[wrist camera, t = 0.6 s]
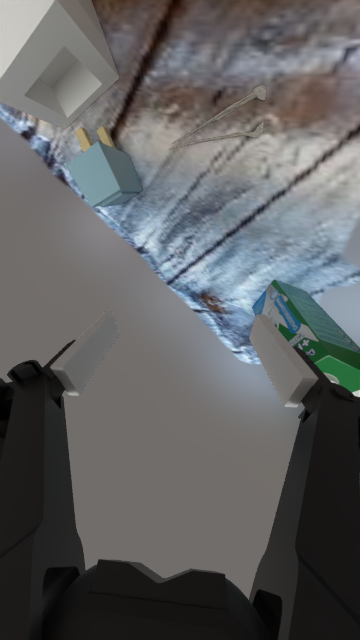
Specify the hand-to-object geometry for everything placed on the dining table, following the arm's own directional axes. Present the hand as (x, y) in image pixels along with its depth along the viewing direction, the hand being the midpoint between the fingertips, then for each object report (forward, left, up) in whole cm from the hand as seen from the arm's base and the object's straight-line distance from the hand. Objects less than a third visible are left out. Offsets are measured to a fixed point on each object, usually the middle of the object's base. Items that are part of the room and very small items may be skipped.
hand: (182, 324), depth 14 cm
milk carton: (-16, +19, -27) cm, 37 cm away
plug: (+10, -17, -27) cm, 34 cm away
